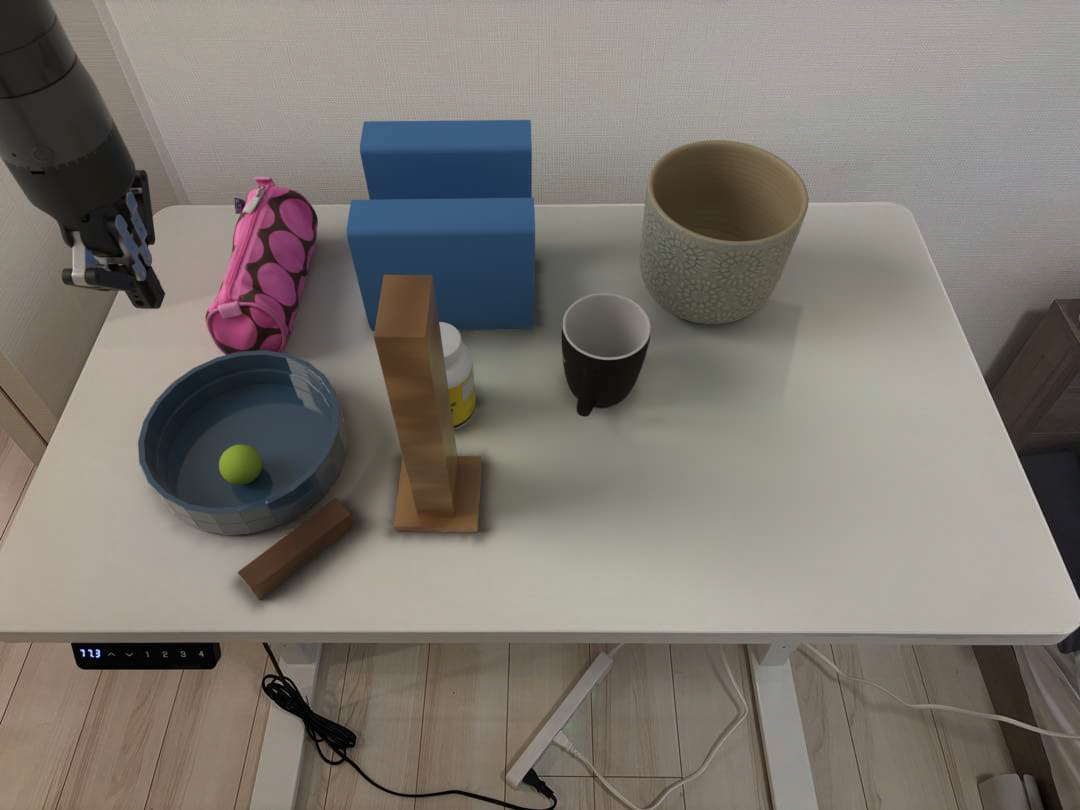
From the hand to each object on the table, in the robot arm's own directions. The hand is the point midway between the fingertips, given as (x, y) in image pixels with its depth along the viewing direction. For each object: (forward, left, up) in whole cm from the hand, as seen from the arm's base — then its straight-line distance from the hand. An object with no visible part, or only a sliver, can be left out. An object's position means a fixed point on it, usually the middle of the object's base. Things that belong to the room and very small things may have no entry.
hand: (151, 302), depth 68 cm
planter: (+50, -27, -20) cm, 60 cm away
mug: (+29, -27, -20) cm, 44 cm away
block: (+30, -5, -20) cm, 36 cm away
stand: (+9, -23, -19) cm, 31 cm away
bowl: (0, -5, -19) cm, 20 cm away
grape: (-2, -7, -17) cm, 18 cm away
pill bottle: (+17, -16, -20) cm, 31 cm away
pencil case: (+15, +11, -20) cm, 27 cm away
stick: (-4, -17, -17) cm, 25 cm away
